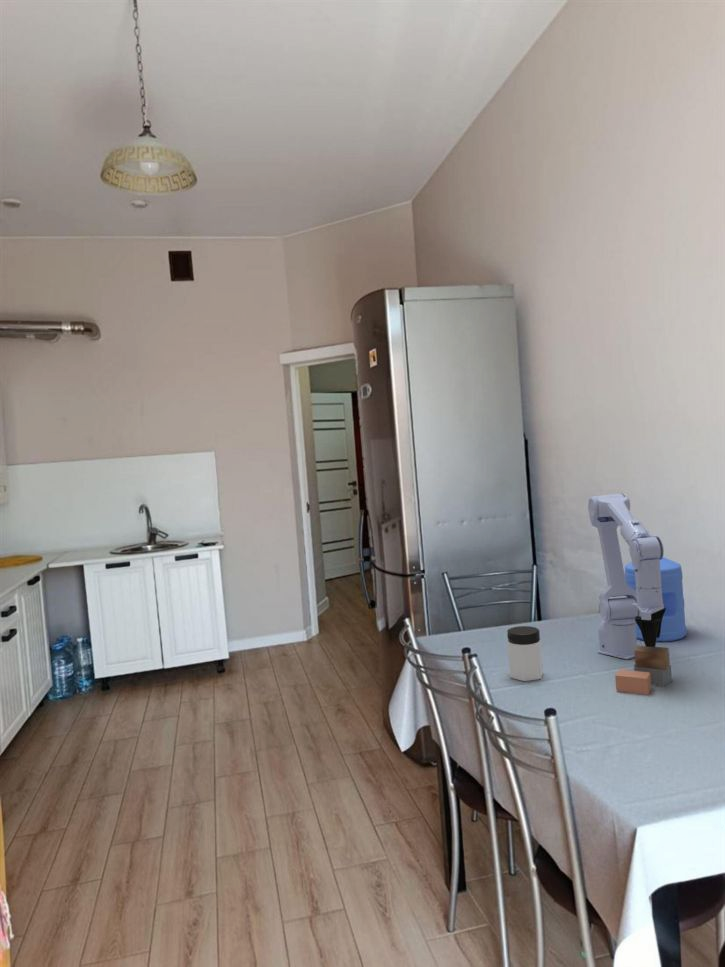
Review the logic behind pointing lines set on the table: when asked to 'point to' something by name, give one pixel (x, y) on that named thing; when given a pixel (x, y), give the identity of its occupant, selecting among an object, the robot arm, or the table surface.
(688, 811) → the table surface
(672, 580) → the water jug
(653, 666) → the walnut block
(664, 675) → the grey block
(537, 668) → the jar
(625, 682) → the terracotta block
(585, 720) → the table surface
